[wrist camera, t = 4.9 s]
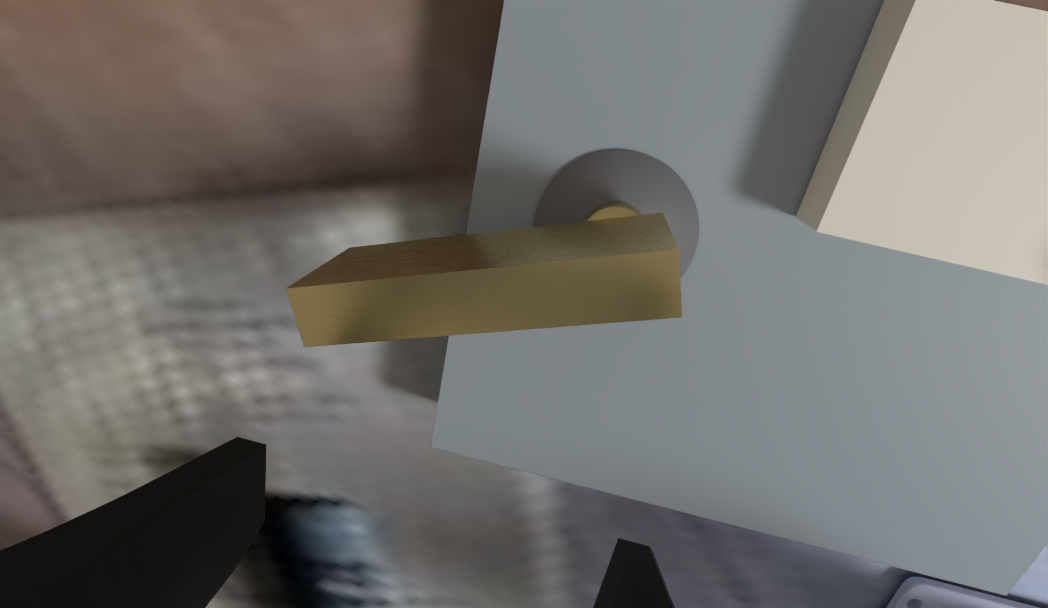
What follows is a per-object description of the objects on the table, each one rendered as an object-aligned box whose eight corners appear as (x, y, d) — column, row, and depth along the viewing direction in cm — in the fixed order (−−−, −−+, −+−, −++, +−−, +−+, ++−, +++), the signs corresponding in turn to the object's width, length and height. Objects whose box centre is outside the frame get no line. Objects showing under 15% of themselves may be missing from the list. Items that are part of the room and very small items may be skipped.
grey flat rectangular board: (959, 535, 20) (1008, 598, 17) (449, 406, 21) (429, 448, 18) (1262, 100, 14) (1399, 103, 11) (531, -53, 15) (516, -80, 12)
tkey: (378, 290, 16) (306, 355, 12) (362, 231, 16) (282, 279, 12) (662, 262, 15) (682, 326, 11) (658, 196, 14) (678, 238, 10)
